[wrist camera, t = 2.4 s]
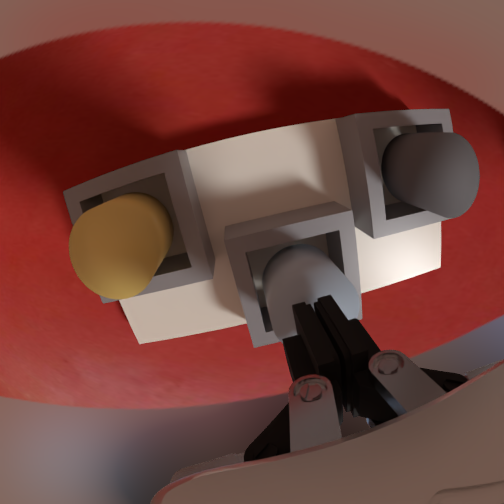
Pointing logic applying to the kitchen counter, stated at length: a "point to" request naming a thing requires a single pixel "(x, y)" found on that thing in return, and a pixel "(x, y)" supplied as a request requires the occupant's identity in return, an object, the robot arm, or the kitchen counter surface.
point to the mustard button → (121, 244)
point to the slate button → (304, 285)
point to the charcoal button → (432, 172)
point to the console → (271, 218)
